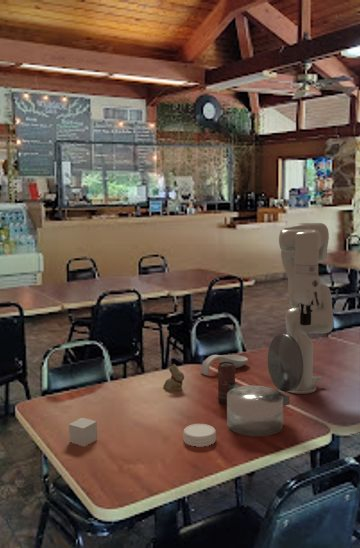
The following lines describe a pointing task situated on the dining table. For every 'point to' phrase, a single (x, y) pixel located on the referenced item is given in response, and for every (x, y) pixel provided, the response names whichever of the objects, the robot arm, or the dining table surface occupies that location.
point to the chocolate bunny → (174, 379)
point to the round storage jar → (255, 409)
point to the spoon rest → (234, 359)
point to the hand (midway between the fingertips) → (305, 324)
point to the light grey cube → (83, 431)
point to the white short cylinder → (199, 435)
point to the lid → (285, 362)
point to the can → (225, 379)
